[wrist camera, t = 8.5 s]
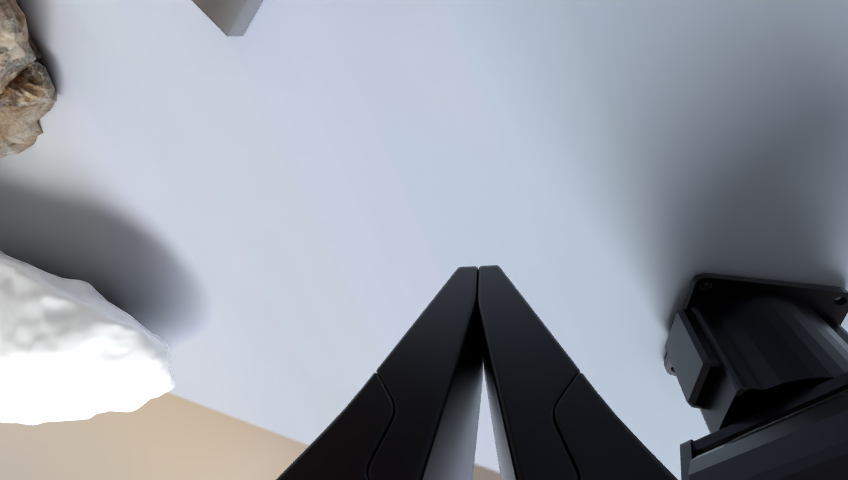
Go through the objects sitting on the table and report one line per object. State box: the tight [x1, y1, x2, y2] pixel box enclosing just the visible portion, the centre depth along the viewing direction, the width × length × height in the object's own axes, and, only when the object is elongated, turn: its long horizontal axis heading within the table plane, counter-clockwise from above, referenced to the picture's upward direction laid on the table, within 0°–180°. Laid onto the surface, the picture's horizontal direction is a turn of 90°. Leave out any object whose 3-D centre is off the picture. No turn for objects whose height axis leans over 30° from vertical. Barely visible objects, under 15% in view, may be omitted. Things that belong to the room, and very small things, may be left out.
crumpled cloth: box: [0, 251, 175, 425], centre depth 32 cm, size 24×35×9 cm
